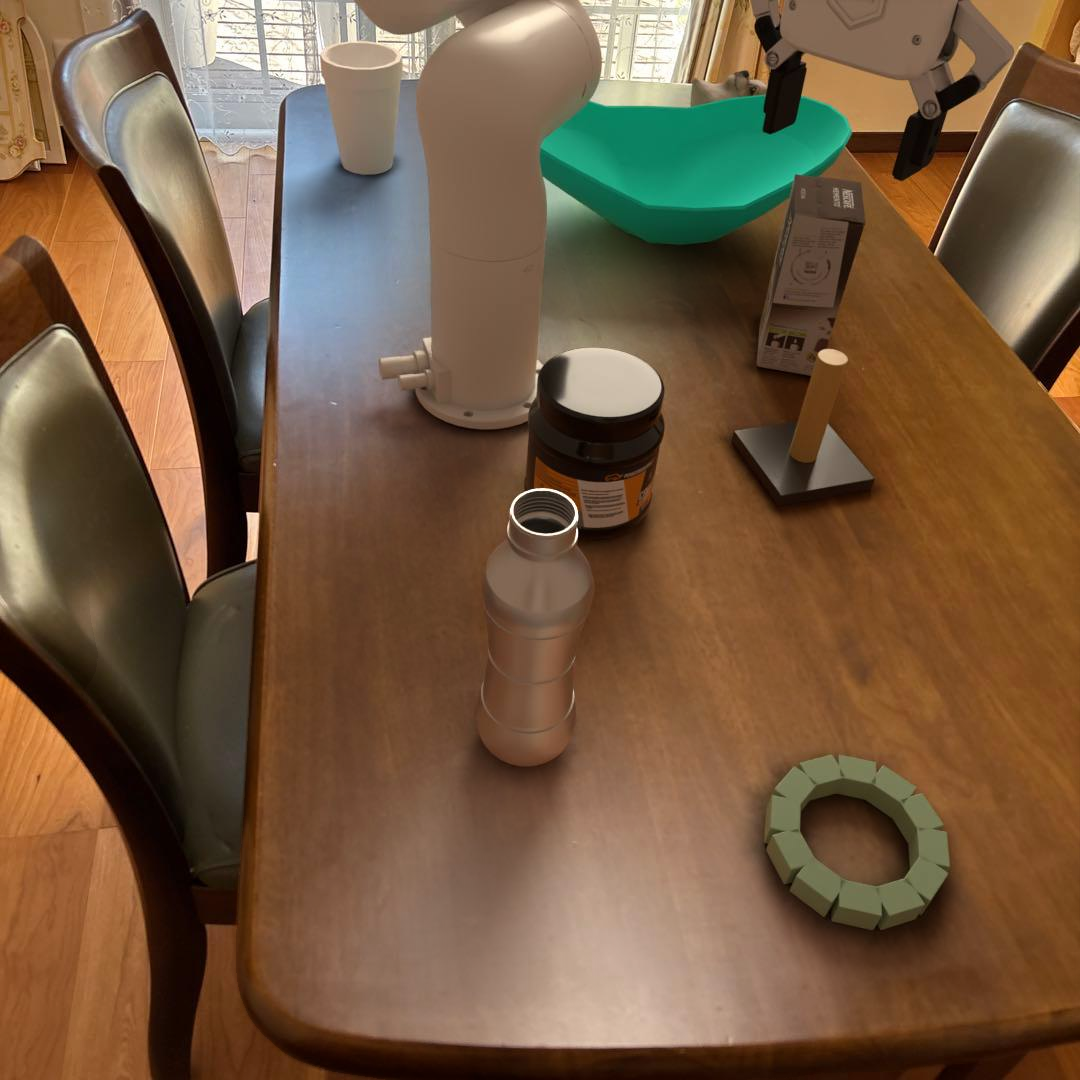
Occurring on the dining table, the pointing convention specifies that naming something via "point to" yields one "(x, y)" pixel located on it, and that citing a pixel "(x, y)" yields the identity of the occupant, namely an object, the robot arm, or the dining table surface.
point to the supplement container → (597, 436)
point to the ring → (821, 883)
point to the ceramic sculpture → (726, 88)
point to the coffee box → (810, 272)
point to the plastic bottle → (533, 630)
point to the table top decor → (688, 163)
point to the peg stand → (806, 445)
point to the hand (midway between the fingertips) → (840, 150)
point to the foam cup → (363, 102)
